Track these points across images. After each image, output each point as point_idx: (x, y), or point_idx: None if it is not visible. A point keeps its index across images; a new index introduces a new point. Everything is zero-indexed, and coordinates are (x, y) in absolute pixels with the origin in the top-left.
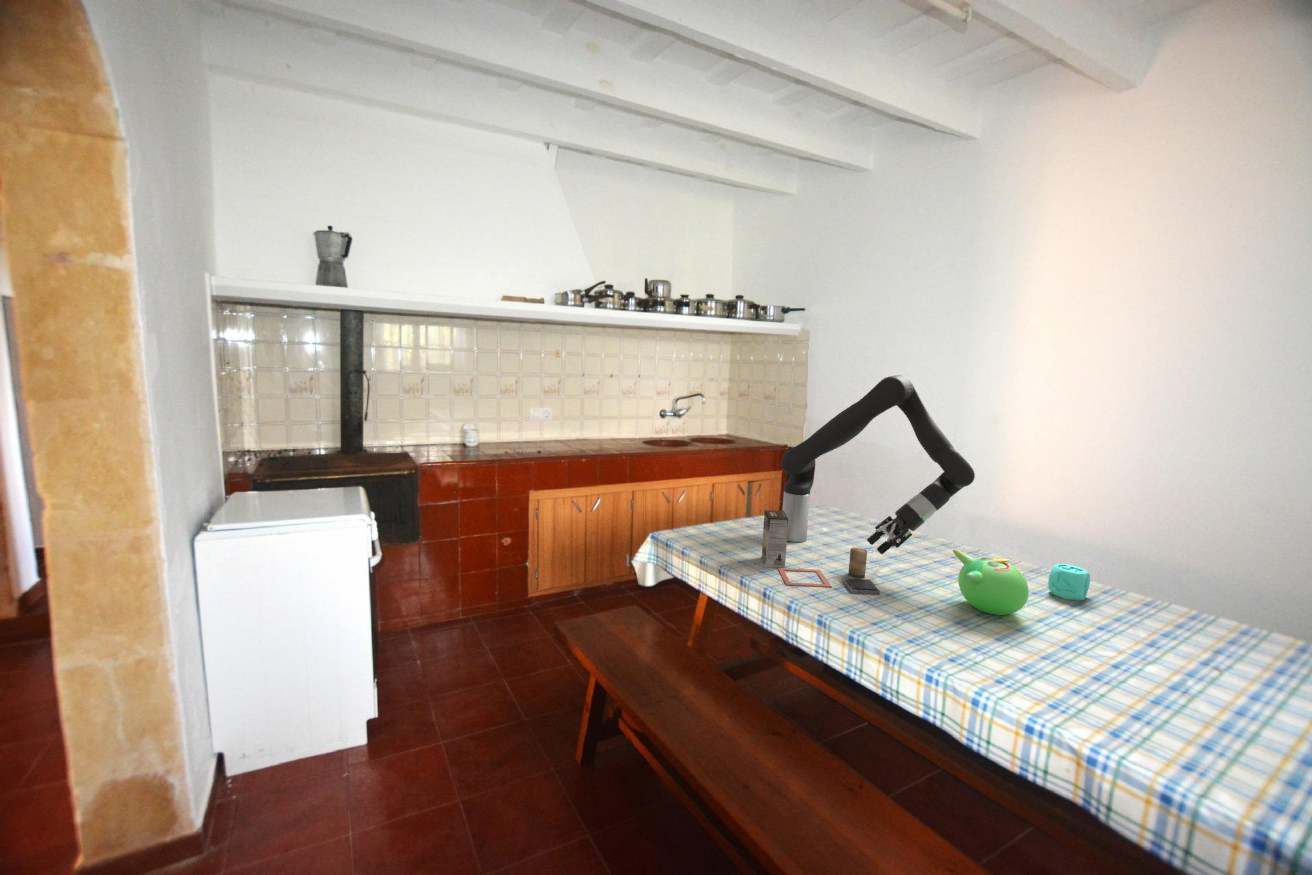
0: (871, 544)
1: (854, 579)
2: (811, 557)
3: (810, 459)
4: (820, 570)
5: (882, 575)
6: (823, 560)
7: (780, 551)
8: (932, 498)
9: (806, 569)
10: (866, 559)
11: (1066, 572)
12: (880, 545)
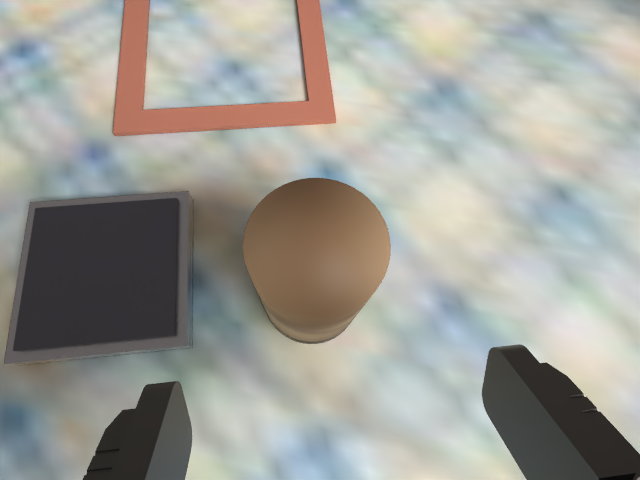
0: (483, 398)
1: (167, 245)
2: (521, 116)
3: None
4: (326, 120)
5: (348, 474)
6: (499, 164)
7: None
8: None
9: (323, 65)
10: (295, 325)
11: None
12: (155, 430)
